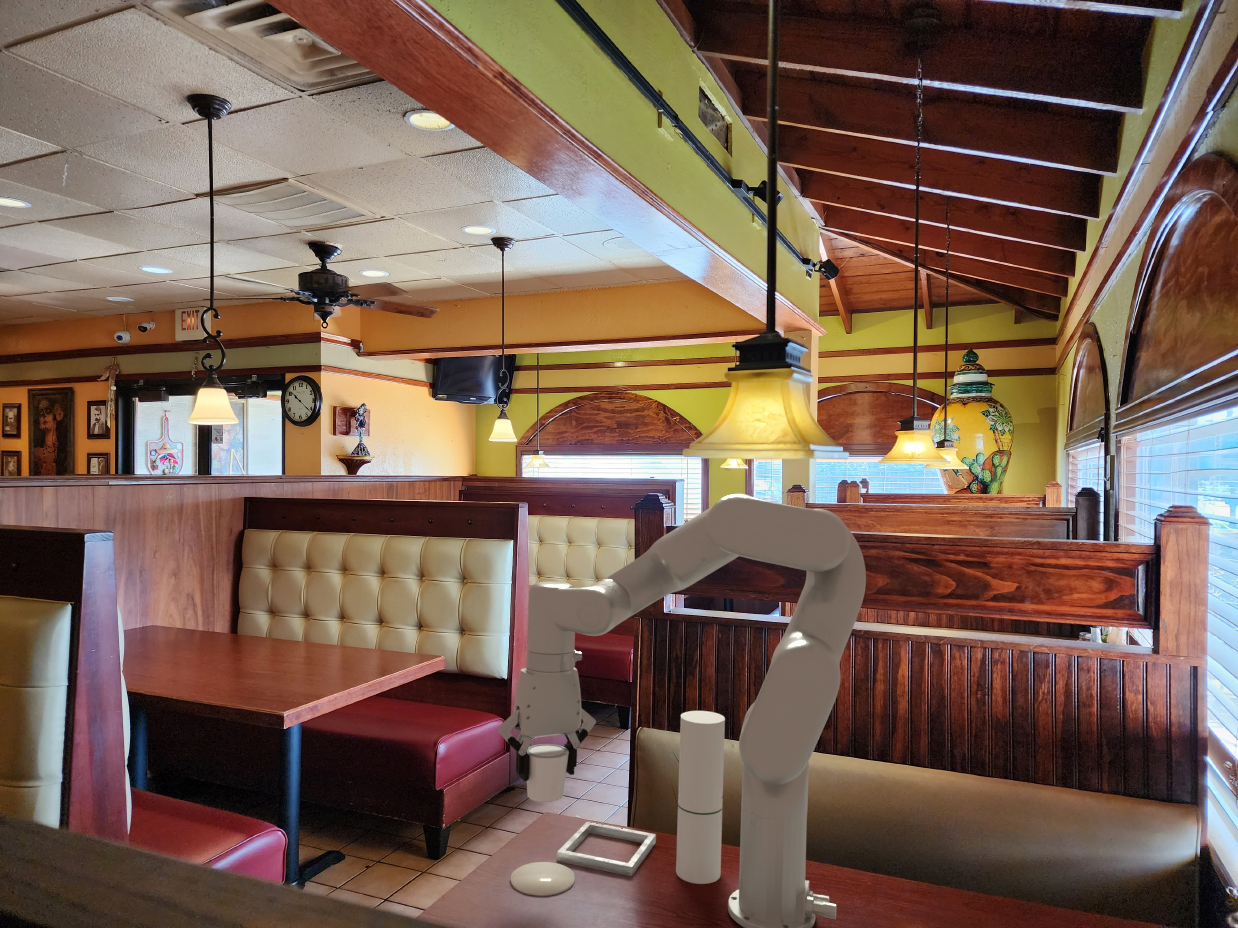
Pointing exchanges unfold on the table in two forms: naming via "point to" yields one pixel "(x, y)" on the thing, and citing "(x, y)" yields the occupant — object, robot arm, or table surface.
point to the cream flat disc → (542, 878)
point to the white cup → (547, 772)
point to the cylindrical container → (700, 796)
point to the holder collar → (602, 863)
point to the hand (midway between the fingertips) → (546, 773)
